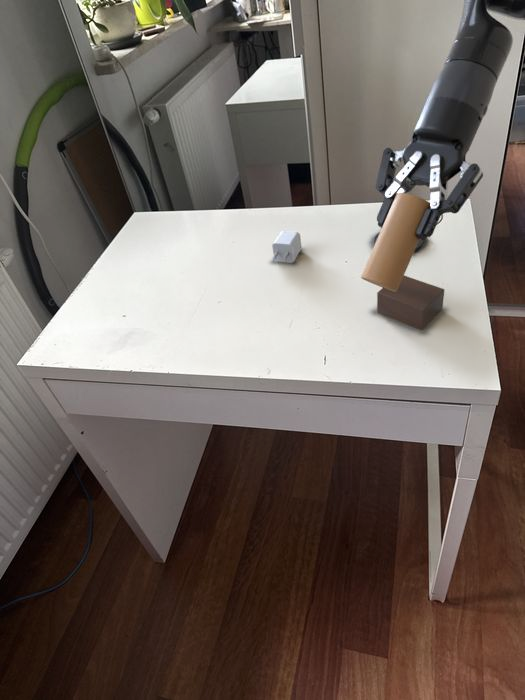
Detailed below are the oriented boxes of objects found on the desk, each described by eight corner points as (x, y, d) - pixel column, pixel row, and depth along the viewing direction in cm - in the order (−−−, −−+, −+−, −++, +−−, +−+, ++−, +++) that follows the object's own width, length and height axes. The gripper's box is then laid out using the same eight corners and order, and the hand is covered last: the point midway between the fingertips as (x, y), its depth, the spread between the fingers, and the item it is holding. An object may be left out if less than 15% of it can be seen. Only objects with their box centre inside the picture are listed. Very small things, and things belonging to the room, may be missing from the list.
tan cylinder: (403, 254, 79) (405, 178, 71) (434, 264, 76) (440, 186, 68) (355, 296, 73) (352, 218, 65) (387, 308, 70) (388, 228, 62)
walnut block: (397, 293, 86) (398, 273, 83) (442, 309, 82) (444, 289, 79) (377, 312, 83) (377, 292, 81) (422, 330, 79) (423, 310, 76)
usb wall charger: (301, 250, 100) (299, 232, 97) (289, 271, 95) (287, 252, 93) (282, 248, 101) (279, 230, 99) (269, 268, 97) (266, 250, 94)
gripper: (395, 89, 69) (344, 211, 71) (502, 100, 61) (441, 238, 63) (415, 116, 75) (367, 228, 77) (515, 130, 67) (458, 255, 69)
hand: (401, 232), depth 70 cm, fingers closed on tan cylinder, 5 cm apart
